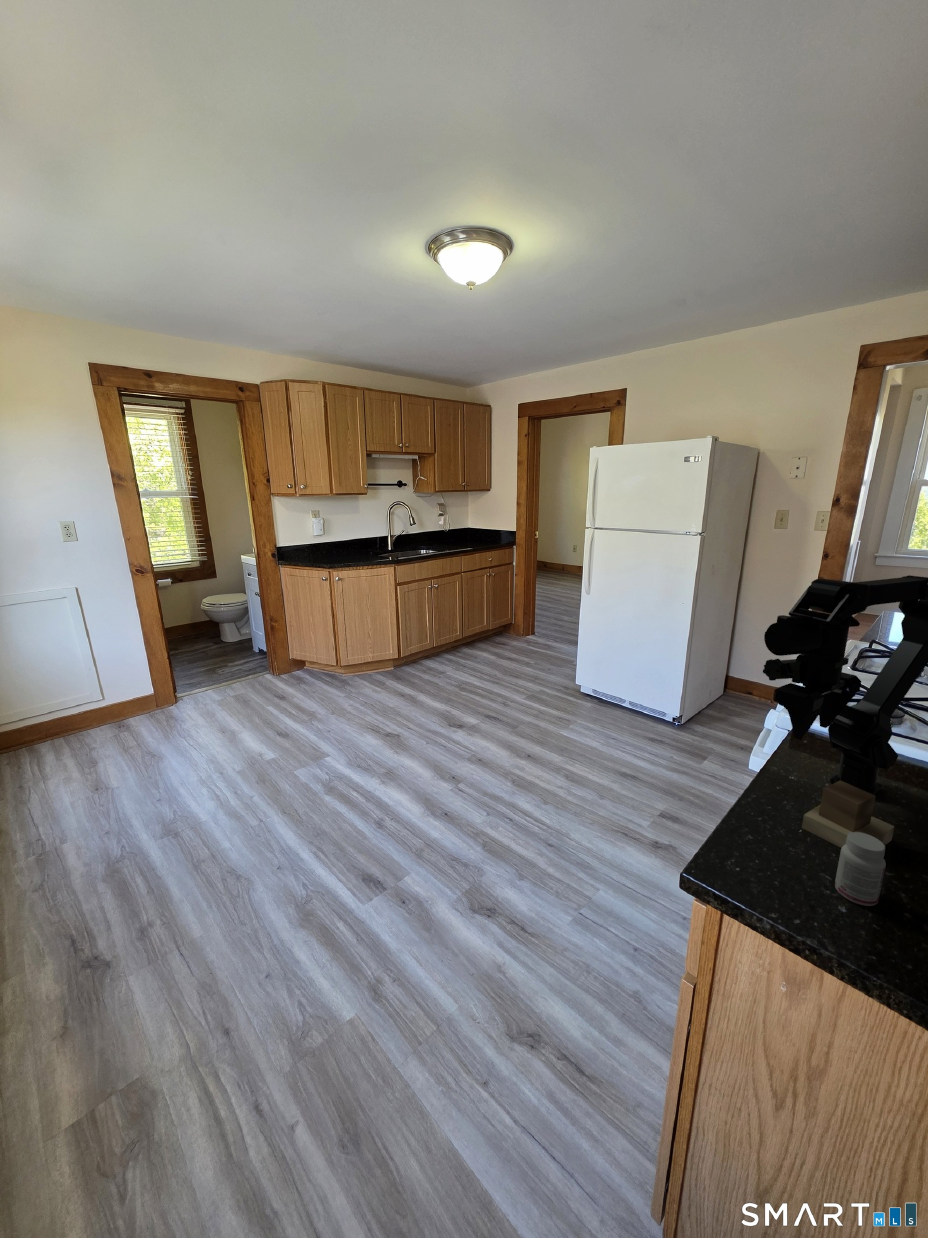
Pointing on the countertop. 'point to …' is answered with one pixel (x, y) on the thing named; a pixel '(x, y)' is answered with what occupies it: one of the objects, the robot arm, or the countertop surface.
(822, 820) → the maple block
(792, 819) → the countertop surface
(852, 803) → the walnut cube
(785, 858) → the countertop surface
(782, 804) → the countertop surface
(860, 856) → the pill bottle
